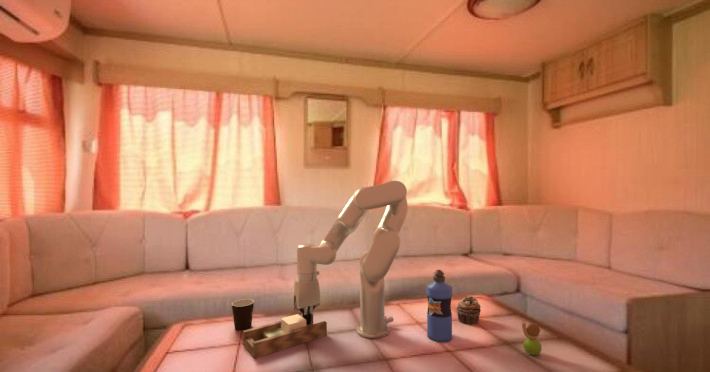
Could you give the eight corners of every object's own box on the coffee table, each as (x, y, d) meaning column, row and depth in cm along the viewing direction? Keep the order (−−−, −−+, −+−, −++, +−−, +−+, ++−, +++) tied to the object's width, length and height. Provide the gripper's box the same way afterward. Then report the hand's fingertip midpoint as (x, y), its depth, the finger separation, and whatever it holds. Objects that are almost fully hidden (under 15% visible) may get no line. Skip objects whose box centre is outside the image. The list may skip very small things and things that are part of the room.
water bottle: (435, 329, 131) (435, 266, 131) (457, 336, 125) (456, 270, 125) (422, 336, 125) (421, 270, 125) (444, 345, 118) (443, 275, 118)
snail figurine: (517, 350, 114) (517, 315, 114) (534, 349, 114) (534, 315, 114) (526, 359, 108) (526, 322, 108) (545, 358, 109) (545, 321, 109)
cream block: (297, 324, 130) (297, 314, 130) (306, 330, 124) (306, 319, 124) (281, 329, 126) (281, 318, 126) (289, 335, 120) (289, 324, 120)
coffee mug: (247, 332, 130) (247, 307, 129) (227, 330, 131) (227, 305, 131) (261, 320, 141) (261, 297, 141) (243, 319, 143) (242, 296, 143)
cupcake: (470, 315, 145) (470, 292, 145) (485, 324, 136) (485, 299, 136) (451, 318, 142) (451, 294, 142) (465, 327, 133) (465, 302, 133)
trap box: (311, 324, 136) (311, 312, 136) (326, 335, 127) (326, 322, 127) (243, 344, 120) (243, 331, 120) (254, 358, 110) (254, 343, 110)
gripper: (318, 271, 136) (318, 315, 136) (284, 277, 127) (285, 325, 127) (328, 275, 130) (328, 322, 130) (293, 281, 121) (293, 332, 121)
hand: (307, 323), depth 129 cm, fingers closed
